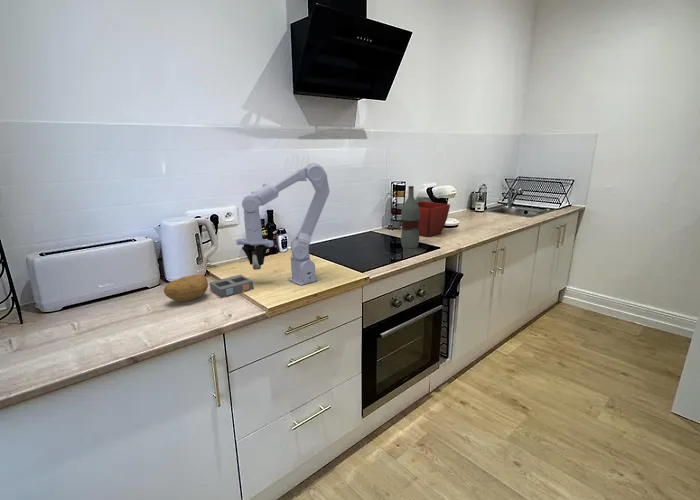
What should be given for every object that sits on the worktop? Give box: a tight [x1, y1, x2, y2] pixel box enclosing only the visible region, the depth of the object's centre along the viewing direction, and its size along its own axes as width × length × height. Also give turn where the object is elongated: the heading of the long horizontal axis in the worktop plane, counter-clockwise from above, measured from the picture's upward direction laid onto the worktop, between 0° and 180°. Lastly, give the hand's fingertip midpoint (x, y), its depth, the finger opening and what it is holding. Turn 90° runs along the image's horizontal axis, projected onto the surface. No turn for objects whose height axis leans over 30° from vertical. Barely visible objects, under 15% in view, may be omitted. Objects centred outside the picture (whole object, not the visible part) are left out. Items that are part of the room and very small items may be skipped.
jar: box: [251, 249, 262, 271], centre depth 138 cm, size 3×3×7 cm
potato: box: [163, 273, 209, 303], centre depth 125 cm, size 10×14×8 cm
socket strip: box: [208, 274, 254, 299], centre depth 134 cm, size 10×12×3 cm
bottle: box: [400, 185, 420, 250], centre depth 184 cm, size 9×9×30 cm
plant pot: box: [416, 201, 451, 238], centre depth 212 cm, size 19×19×17 cm
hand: (256, 264), depth 139 cm, fingers closed on jar, 3 cm apart
